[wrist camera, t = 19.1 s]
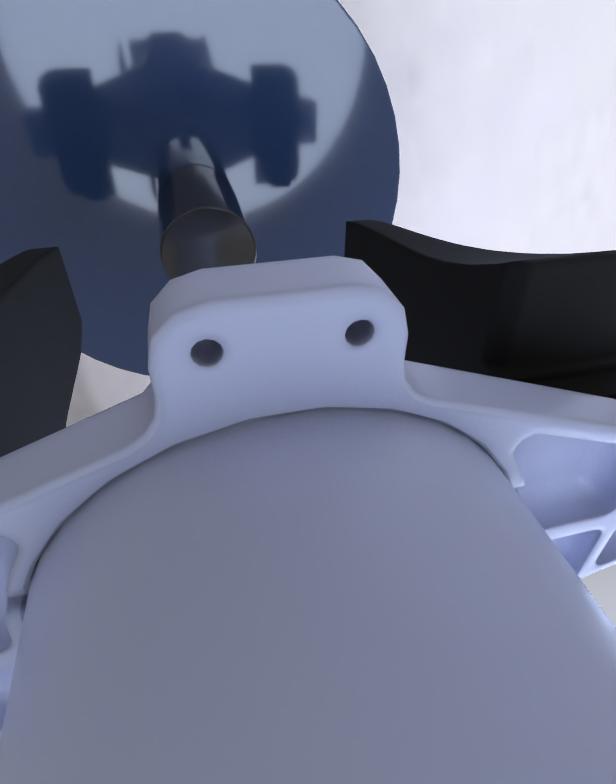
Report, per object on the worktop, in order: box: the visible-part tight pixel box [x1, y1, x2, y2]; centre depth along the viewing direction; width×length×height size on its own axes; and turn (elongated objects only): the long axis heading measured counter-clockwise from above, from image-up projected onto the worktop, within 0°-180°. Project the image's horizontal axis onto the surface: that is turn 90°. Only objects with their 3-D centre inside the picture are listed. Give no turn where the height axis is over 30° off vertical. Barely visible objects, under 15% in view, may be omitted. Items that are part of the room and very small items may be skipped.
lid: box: [0, 0, 400, 376], centre depth 16 cm, size 14×14×5 cm
